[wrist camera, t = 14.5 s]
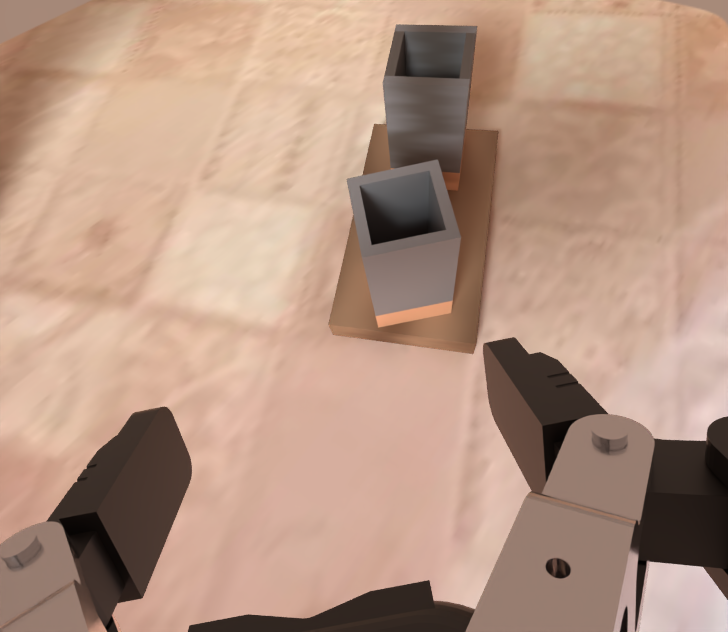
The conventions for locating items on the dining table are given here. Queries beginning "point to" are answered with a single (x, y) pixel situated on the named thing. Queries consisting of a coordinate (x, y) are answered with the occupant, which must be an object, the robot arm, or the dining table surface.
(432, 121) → the pin board
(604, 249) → the dining table surface
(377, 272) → the sleeve
